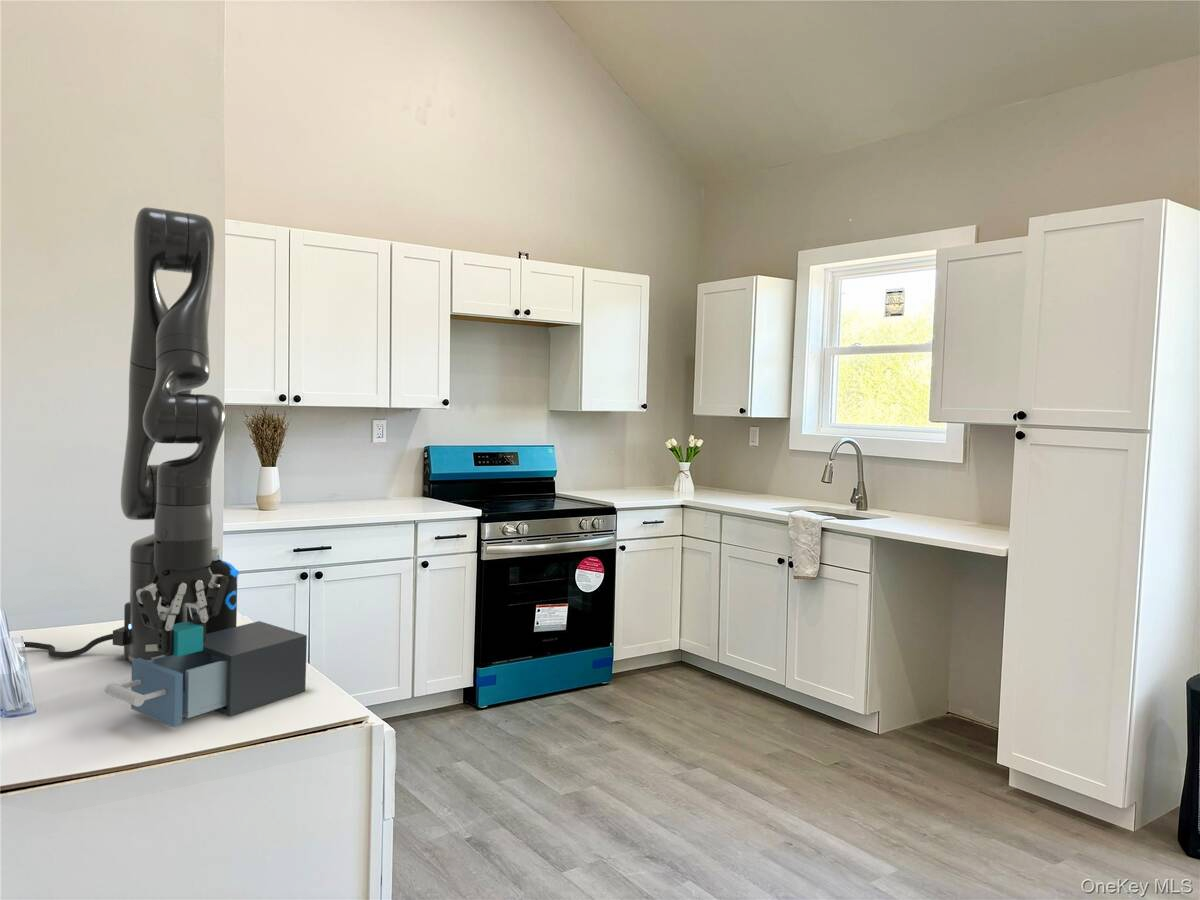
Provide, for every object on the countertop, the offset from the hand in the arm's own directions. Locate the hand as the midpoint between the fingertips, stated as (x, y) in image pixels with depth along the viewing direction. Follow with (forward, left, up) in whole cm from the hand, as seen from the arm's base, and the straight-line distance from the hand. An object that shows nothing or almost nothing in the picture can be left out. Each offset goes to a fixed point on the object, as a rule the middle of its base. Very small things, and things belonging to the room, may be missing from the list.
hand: (181, 650), depth 129 cm
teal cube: (0, 0, 0) cm, 0 cm away
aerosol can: (-9, +20, -10) cm, 24 cm away
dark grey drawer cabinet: (+4, +10, -10) cm, 14 cm away
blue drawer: (0, 0, -9) cm, 9 cm away
